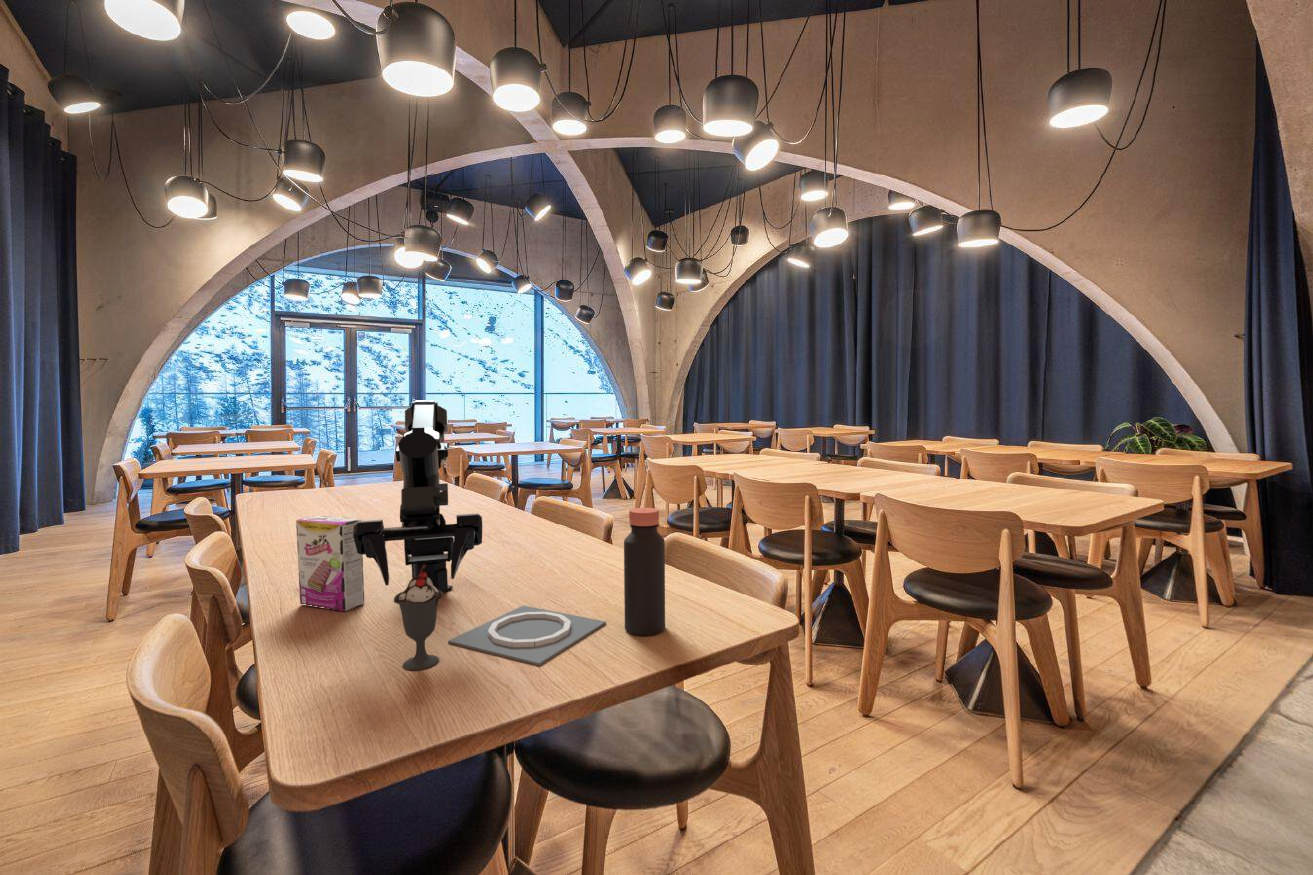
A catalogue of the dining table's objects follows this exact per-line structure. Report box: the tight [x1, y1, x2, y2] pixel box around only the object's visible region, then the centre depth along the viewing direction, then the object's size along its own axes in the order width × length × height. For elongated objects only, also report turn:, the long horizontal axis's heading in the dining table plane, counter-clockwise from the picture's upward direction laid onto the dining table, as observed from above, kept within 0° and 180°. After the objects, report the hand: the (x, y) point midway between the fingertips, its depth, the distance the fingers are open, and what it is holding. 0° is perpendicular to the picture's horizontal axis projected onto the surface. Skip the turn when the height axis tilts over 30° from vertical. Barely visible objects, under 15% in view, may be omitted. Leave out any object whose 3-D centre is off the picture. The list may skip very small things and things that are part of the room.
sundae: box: [393, 564, 444, 671], centre depth 87 cm, size 7×7×15 cm
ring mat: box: [447, 605, 607, 666], centre depth 98 cm, size 18×18×1 cm
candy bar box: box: [295, 515, 365, 612], centre depth 112 cm, size 11×5×16 cm, turn 71°
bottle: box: [623, 507, 666, 637], centre depth 99 cm, size 7×7×20 cm
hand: (420, 580), depth 90 cm, fingers open, 9 cm apart
